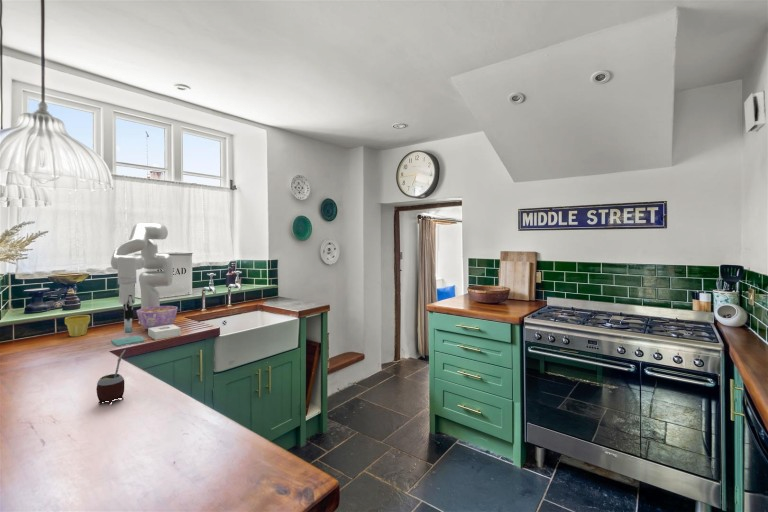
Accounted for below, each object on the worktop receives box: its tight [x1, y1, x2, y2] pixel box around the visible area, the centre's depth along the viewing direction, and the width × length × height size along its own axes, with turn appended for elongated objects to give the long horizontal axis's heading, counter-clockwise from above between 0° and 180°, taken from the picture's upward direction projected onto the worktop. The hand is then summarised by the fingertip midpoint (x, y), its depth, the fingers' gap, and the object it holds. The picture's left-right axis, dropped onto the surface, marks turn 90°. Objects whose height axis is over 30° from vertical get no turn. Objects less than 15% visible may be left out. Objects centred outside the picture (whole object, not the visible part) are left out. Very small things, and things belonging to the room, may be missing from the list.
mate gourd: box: [95, 349, 127, 404], centre depth 114 cm, size 8×8×15 cm
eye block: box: [147, 323, 182, 341], centre depth 192 cm, size 12×12×4 cm
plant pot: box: [64, 314, 91, 337], centre depth 192 cm, size 10×10×10 cm
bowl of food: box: [136, 305, 179, 330], centre depth 205 cm, size 20×20×12 cm
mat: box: [110, 335, 147, 347], centre depth 180 cm, size 12×12×1 cm
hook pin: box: [123, 307, 133, 334], centre depth 180 cm, size 3×3×13 cm
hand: (128, 317), depth 180 cm, fingers closed on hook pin, 3 cm apart
